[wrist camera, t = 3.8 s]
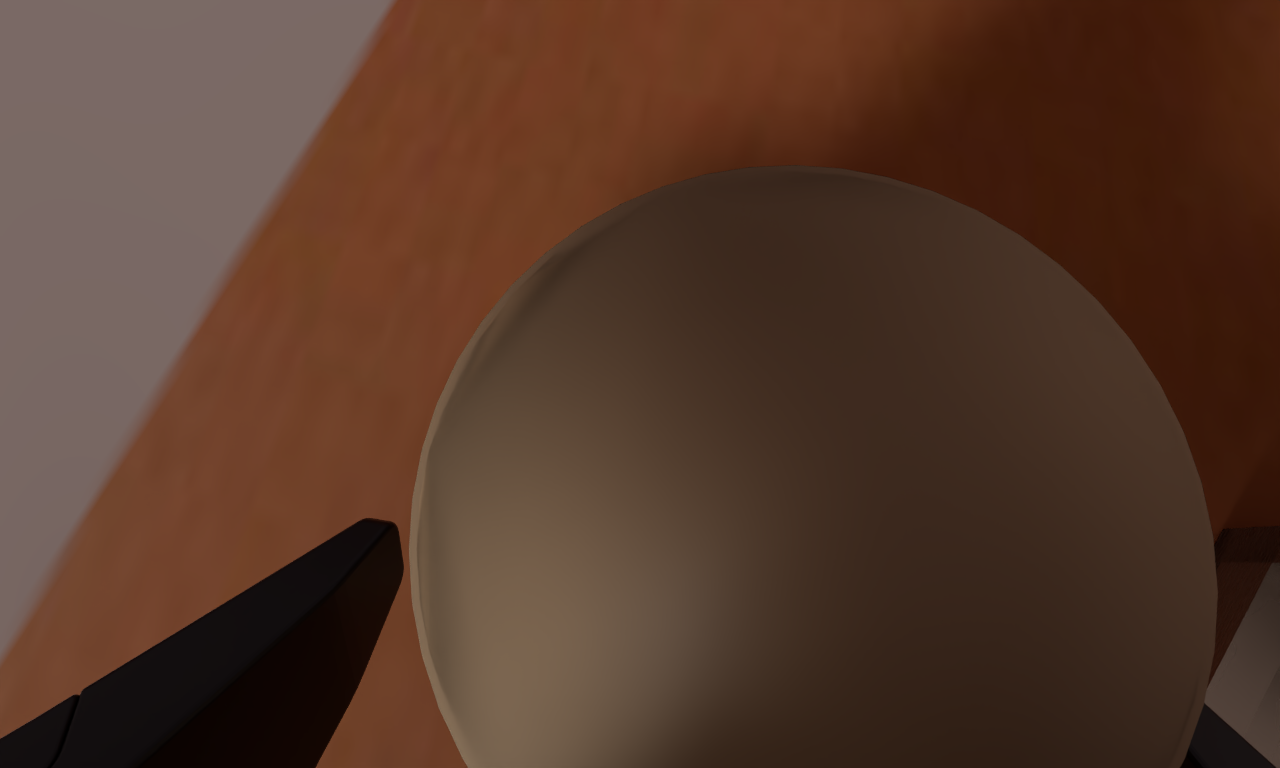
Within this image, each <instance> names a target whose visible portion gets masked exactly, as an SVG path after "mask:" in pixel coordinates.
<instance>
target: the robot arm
mask: <svg viewBox="0 0 1280 768" xmlns="http://www.w3.org/2000/svg"><path fill="white" fill-rule="evenodd" d="M403 571H404V563H403V557H402V550H401V543H400V537H399V531H398V527H397V526H396V524H395V523H393V522H391V521H385V520H379V519H373V518H365V519H362V520H360V521H358V522H357V523H355V524H353V525H352V526H350V527H348V528H347V529H345V530H344V531H342V532H340V533H339V534H337V535H335V536H334V537H332V538H330V539H329V540H327V541H325V542H324V543H322V544H321V545H319V546H317V547H316V548H314V549H312V550H311V551H309V552H307V553H306V554H304V555H303V556H301V557H299V558H298V559H296V560H294V561H293V562H291V563H289V564H288V565H286V566H284V567H283V568H281V569H280V570H278V571H276V572H275V573H273V574H271V575H270V576H268V577H266V578H265V579H263V580H262V581H260V582H258V583H257V584H255V585H253V586H252V587H250V588H248V589H247V590H245V591H244V592H242V593H240V594H239V595H237V596H235V597H234V598H232V599H230V600H229V601H227V602H225V603H224V604H222V605H221V606H219V607H217V608H216V609H214V610H212V611H211V612H209V613H207V614H206V615H204V616H203V617H201V618H199V619H198V620H196V621H194V622H193V623H191V624H189V625H188V626H186V627H184V628H183V629H181V630H180V631H178V632H176V633H175V634H173V635H171V636H170V637H168V638H166V639H165V640H163V641H162V642H160V643H158V644H157V645H155V646H153V647H152V648H150V649H148V650H147V651H145V652H143V653H142V654H140V655H139V656H137V657H135V658H134V659H132V660H130V661H129V662H127V663H125V664H124V665H122V666H121V667H119V668H117V669H116V670H114V671H112V672H111V673H109V674H107V675H106V676H104V677H103V678H101V679H99V680H98V681H96V682H94V683H93V684H91V685H89V686H88V687H86V688H85V689H83V690H82V692H81V694H80V695H73V696H71V697H69V698H68V699H66V700H64V701H63V702H61V703H59V704H58V705H56V706H55V707H53V708H51V709H50V710H48V711H46V712H45V713H43V714H41V715H40V716H38V717H36V718H35V719H33V720H31V721H30V722H28V723H26V724H25V725H23V726H21V727H20V728H18V729H16V730H14V731H13V732H11V733H9V734H8V735H6V736H4V737H3V738H1V739H0V768H315V767H316V766H317V764H318V762H319V760H320V758H321V756H322V754H323V753H324V751H325V749H326V747H327V745H328V743H329V741H330V739H331V738H332V736H333V734H334V732H335V730H336V728H337V726H338V725H339V723H340V721H341V719H342V717H343V715H344V713H345V712H346V710H347V708H348V706H349V704H350V702H351V700H352V698H353V696H354V694H355V692H356V690H357V688H358V686H359V683H360V681H361V679H362V677H363V674H364V672H365V670H366V667H367V665H368V662H369V660H370V657H371V655H372V652H373V650H374V647H375V645H376V643H377V640H378V638H379V635H380V633H381V630H382V628H383V625H384V623H385V621H386V618H387V616H388V613H389V611H390V608H391V606H392V603H393V601H394V599H395V596H396V594H397V591H398V589H399V586H400V584H401V581H402V577H403ZM1180 768H1276V767H1275V766H1274V765H1273V764H1272V763H1271V762H1270V761H1269V760H1267V759H1266V758H1265V757H1264V756H1263V755H1262V754H1261V753H1260V752H1259V751H1257V750H1256V749H1255V748H1254V747H1253V746H1252V745H1251V744H1250V743H1249V742H1247V741H1246V740H1245V739H1244V738H1243V737H1242V736H1241V735H1240V734H1239V733H1237V732H1236V731H1235V730H1234V729H1233V728H1232V727H1231V726H1230V725H1228V724H1227V723H1226V722H1225V721H1224V720H1223V719H1222V718H1221V717H1220V716H1218V715H1217V714H1216V713H1215V712H1214V711H1213V710H1212V709H1211V708H1210V707H1208V706H1207V705H1206V704H1205V703H1204V706H1203V708H1202V711H1201V714H1200V717H1199V720H1198V722H1197V725H1196V728H1195V731H1194V734H1193V737H1192V739H1191V742H1190V745H1189V748H1188V751H1187V754H1186V756H1185V759H1184V761H1183V763H1182V765H1181V767H1180Z"/></svg>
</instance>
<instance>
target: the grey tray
mask: <svg viewBox="0 0 1280 768" xmlns="http://www.w3.org/2000/svg"><path fill="white" fill-rule="evenodd" d="M1214 552H1215V564H1216V577H1217V589H1218V598H1217V616H1216V634H1215V650H1214V655H1213V660H1212V665H1211V670H1210V675H1209V681H1208V686H1207V691H1206V696H1205V701H1204V703H1205V704H1206V705H1207V706H1208V707H1210V708H1211V709H1212V710H1213V711H1214V712H1215V713H1216V714H1217V715H1218V716H1220V717H1221V718H1222V719H1223V720H1224V721H1225V722H1226V723H1227V724H1228V725H1230V726H1231V727H1232V728H1233V729H1234V730H1235V731H1236V732H1237V733H1239V734H1240V735H1241V736H1242V737H1243V738H1244V739H1245V740H1246V741H1247V742H1249V743H1250V744H1251V745H1252V746H1253V747H1254V748H1255V749H1256V750H1257V751H1259V752H1260V753H1261V754H1262V755H1263V756H1264V757H1265V758H1266V759H1267V760H1269V761H1270V762H1271V763H1272V764H1273V765H1274V766H1275V767H1276V768H1280V526H1270V527H1251V528H1233V529H1223V531H1222V533H1221V535H1220V537H1219V539H1218V540H1217V542H1216V544H1215V546H1214Z"/></svg>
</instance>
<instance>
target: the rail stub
mask: <svg viewBox="0 0 1280 768" xmlns="http://www.w3.org/2000/svg"><path fill="white" fill-rule="evenodd" d="M409 559H410V576H411V593H412V605H413V610H414V615H415V621H416V626H417V631H418V637H419V642H420V647H421V653H422V657H423V660H424V663H425V666H426V669H427V673H428V676H429V679H430V682H431V685H432V688H433V691H434V694H435V697H436V700H437V704H438V707H439V709H440V711H441V713H442V716H443V718H444V720H445V722H446V724H447V726H448V728H449V730H450V733H451V735H452V737H453V739H454V741H455V743H456V745H457V747H458V750H459V752H460V754H461V756H462V758H463V760H464V762H465V763H466V765H467V766H468V768H1180V767H1181V765H1182V763H1183V761H1184V759H1185V756H1186V754H1187V751H1188V748H1189V745H1190V742H1191V739H1192V737H1193V734H1194V731H1195V728H1196V725H1197V722H1198V720H1199V717H1200V714H1201V711H1202V708H1203V706H1204V701H1205V696H1206V691H1207V686H1208V681H1209V675H1210V670H1211V665H1212V660H1213V655H1214V650H1215V634H1216V616H1217V598H1218V589H1217V577H1216V564H1215V552H1214V540H1213V533H1212V529H1211V524H1210V519H1209V515H1208V510H1207V505H1206V501H1205V496H1204V491H1203V487H1202V483H1201V480H1200V477H1199V474H1198V471H1197V468H1196V466H1195V463H1194V460H1193V457H1192V454H1191V451H1190V448H1189V446H1188V443H1187V440H1186V437H1185V434H1184V432H1183V430H1182V428H1181V426H1180V424H1179V422H1178V419H1177V417H1176V415H1175V413H1174V411H1173V409H1172V407H1171V405H1170V403H1169V401H1168V399H1167V397H1166V395H1165V393H1164V391H1163V389H1162V387H1161V385H1160V383H1159V382H1158V380H1157V379H1156V377H1155V376H1154V374H1153V373H1152V371H1151V370H1150V368H1149V367H1148V365H1147V364H1146V362H1145V361H1144V359H1143V358H1142V356H1141V355H1140V353H1139V352H1138V350H1137V349H1136V347H1135V345H1134V344H1133V342H1132V341H1131V339H1130V338H1129V337H1128V336H1127V335H1126V334H1125V332H1124V331H1123V330H1122V329H1121V328H1120V326H1119V325H1118V324H1117V323H1116V322H1115V320H1114V319H1113V318H1112V317H1111V316H1110V315H1109V313H1108V312H1107V311H1106V310H1105V309H1104V307H1103V306H1102V305H1101V304H1100V303H1099V302H1098V300H1097V299H1096V298H1095V297H1094V296H1092V295H1091V294H1090V293H1089V292H1088V291H1087V290H1086V289H1085V288H1084V287H1083V286H1082V285H1081V284H1080V283H1079V282H1078V281H1076V280H1075V279H1074V278H1073V277H1072V276H1071V275H1070V274H1069V273H1068V272H1067V271H1066V270H1065V269H1064V268H1063V267H1062V266H1061V265H1059V264H1058V263H1057V262H1055V261H1054V260H1053V259H1051V258H1050V257H1049V256H1047V255H1046V254H1045V253H1043V252H1042V251H1040V250H1039V249H1038V248H1036V247H1035V246H1034V245H1032V244H1031V243H1030V242H1028V241H1027V240H1026V239H1024V238H1023V237H1022V236H1020V235H1019V234H1017V233H1015V232H1014V231H1012V230H1010V229H1008V228H1007V227H1005V226H1003V225H1002V224H1000V223H998V222H996V221H995V220H993V219H991V218H989V217H988V216H986V215H984V214H983V213H981V212H979V211H977V210H975V209H973V208H971V207H968V206H966V205H964V204H961V203H959V202H957V201H955V200H952V199H950V198H948V197H945V196H943V195H941V194H939V193H936V192H934V191H931V190H928V189H925V188H921V187H918V186H915V185H912V184H908V183H905V182H902V181H899V180H895V179H892V178H889V177H884V176H879V175H874V174H868V173H863V172H858V171H852V170H847V169H842V168H828V167H814V166H799V165H789V166H767V167H748V168H742V169H736V170H730V171H724V172H718V173H711V174H705V175H702V176H698V177H695V178H691V179H688V180H684V181H681V182H677V183H674V184H670V185H667V186H663V187H660V188H658V189H656V190H653V191H651V192H649V193H646V194H644V195H641V196H639V197H637V198H634V199H632V200H629V201H627V202H625V203H622V204H620V205H618V206H617V207H615V208H613V209H611V210H609V211H608V212H606V213H604V214H602V215H601V216H599V217H597V218H595V219H594V220H592V221H590V222H588V223H587V224H585V225H583V226H581V227H580V228H579V229H577V230H576V231H575V232H573V233H572V234H571V235H569V236H568V237H566V238H565V239H564V240H562V241H561V242H560V243H558V244H557V245H556V246H554V247H553V248H552V249H550V250H549V251H548V252H546V253H545V254H544V255H543V256H542V257H541V258H540V259H539V260H538V261H536V262H535V263H534V264H533V265H532V266H531V267H530V268H529V269H528V270H527V271H526V272H525V273H524V274H523V275H522V276H521V277H520V278H519V279H518V280H517V281H515V282H514V283H513V284H512V285H511V287H510V288H509V289H508V290H507V291H506V293H505V294H504V295H503V296H502V298H501V299H500V300H499V301H498V302H497V304H496V305H495V306H494V307H493V308H492V310H491V311H490V312H489V313H488V315H487V316H486V317H485V318H484V319H483V321H482V322H481V324H480V325H479V327H478V329H477V330H476V332H475V333H474V335H473V336H472V338H471V340H470V341H469V343H468V344H467V346H466V347H465V349H464V351H463V352H462V354H461V355H460V357H459V359H458V360H457V362H456V364H455V366H454V369H453V371H452V373H451V375H450V377H449V379H448V381H447V383H446V386H445V388H444V390H443V392H442V394H441V396H440V398H439V400H438V403H437V405H436V408H435V411H434V414H433V417H432V420H431V423H430V427H429V430H428V433H427V436H426V439H425V442H424V445H423V448H422V452H421V457H420V462H419V467H418V472H417V478H416V483H415V488H414V493H413V498H412V512H411V527H410V542H409Z"/></svg>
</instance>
